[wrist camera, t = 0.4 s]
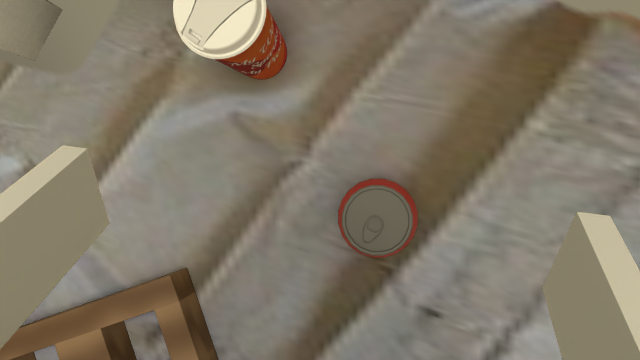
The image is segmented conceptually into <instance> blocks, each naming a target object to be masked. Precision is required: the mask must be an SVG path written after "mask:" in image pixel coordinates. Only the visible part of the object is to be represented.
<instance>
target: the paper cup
mask: <svg viewBox="0 0 640 360" xmlns="http://www.w3.org/2000/svg"><path fill="white" fill-rule="evenodd" d="M173 14H174V19H175V24H176V28H177V31H178V33H179V35H180V37H181V39H182V40H183V42H184V43H185V44H186V45H187V46H188V47H189V48H190V49H191V50H192V51H194V52H195V53H197V54H199V55H201V56H204V57H206V58H211V59H215V60H217V61H219V62H221V63H223V64H225V65H227V66H229V67H231V68H233V69H235V70H237V71H239V72H241V73H243V74H245V75H247V76H249V77H252V78H255V79H267V78H270V77H273V76H274V75H276V74H277V73H278V72H279V71H280V70H281V69H282V67H283V66H284V64H285V61H286V57H287V48H286V44H285V41H284V39H283V37H282V35H281V33H280V31H279V29H278V27H277V25H276V23H275V21H274V19H273V17H272V15H271V13H270V11H269V9H268V7H267V5H266V0H174V2H173Z"/></svg>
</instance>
